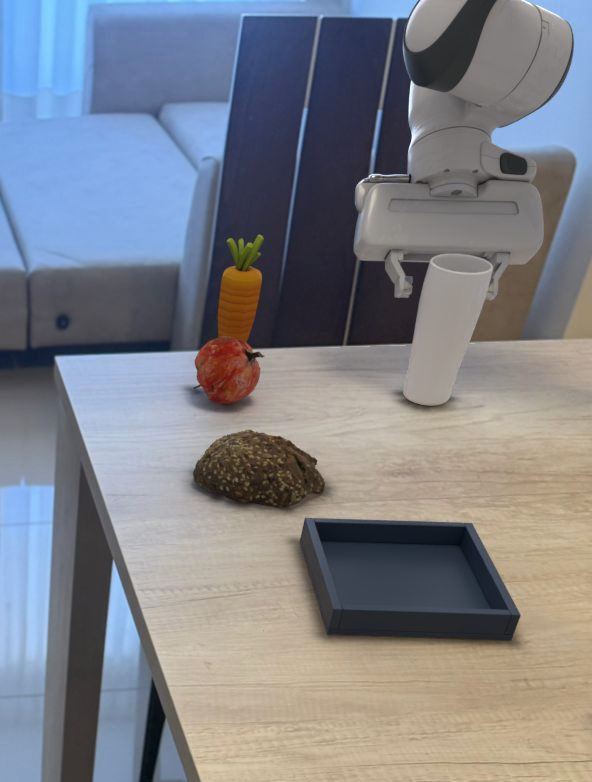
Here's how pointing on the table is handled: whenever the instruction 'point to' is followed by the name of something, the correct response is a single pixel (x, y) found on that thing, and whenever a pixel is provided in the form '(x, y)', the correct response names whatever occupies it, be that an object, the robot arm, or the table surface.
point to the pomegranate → (227, 369)
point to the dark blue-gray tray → (406, 580)
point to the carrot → (240, 291)
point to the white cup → (445, 325)
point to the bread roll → (258, 470)
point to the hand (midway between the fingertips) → (445, 296)
